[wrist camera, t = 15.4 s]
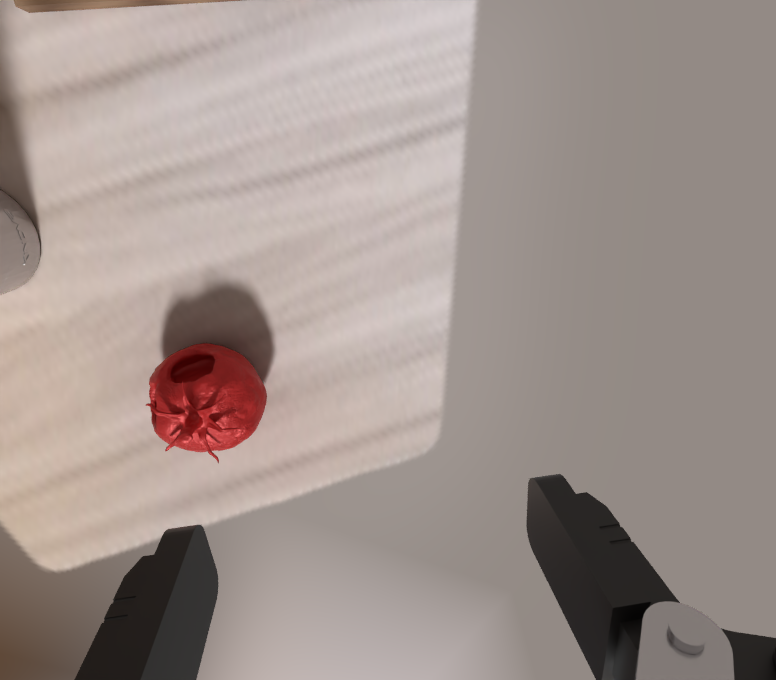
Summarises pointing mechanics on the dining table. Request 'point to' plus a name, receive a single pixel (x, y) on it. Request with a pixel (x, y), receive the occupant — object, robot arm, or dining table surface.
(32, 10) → the holder board
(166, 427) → the red round piece
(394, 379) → the dining table surface
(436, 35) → the dining table surface
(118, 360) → the dining table surface
